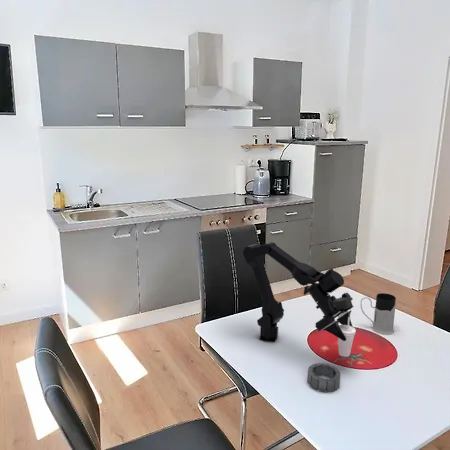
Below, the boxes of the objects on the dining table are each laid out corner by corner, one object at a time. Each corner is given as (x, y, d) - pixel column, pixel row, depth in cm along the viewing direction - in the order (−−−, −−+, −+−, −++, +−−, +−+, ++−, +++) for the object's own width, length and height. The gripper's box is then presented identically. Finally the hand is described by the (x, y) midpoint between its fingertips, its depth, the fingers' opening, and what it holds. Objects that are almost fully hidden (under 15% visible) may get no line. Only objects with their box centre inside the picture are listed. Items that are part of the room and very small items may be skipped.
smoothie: (354, 359, 139) (358, 322, 136) (335, 357, 140) (338, 320, 137) (352, 350, 145) (355, 314, 142) (334, 348, 146) (337, 312, 143)
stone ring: (305, 388, 132) (306, 377, 131) (309, 371, 142) (310, 360, 141) (338, 394, 129) (339, 383, 128) (340, 376, 139) (341, 366, 138)
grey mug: (394, 336, 166) (398, 302, 163) (358, 331, 170) (361, 297, 167) (392, 326, 175) (396, 294, 171) (358, 322, 179) (361, 290, 175)
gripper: (325, 295, 133) (355, 337, 128) (350, 280, 147) (377, 317, 142) (303, 310, 140) (330, 351, 135) (328, 294, 153) (354, 330, 149)
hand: (349, 336), depth 140 cm, fingers closed on smoothie, 6 cm apart
